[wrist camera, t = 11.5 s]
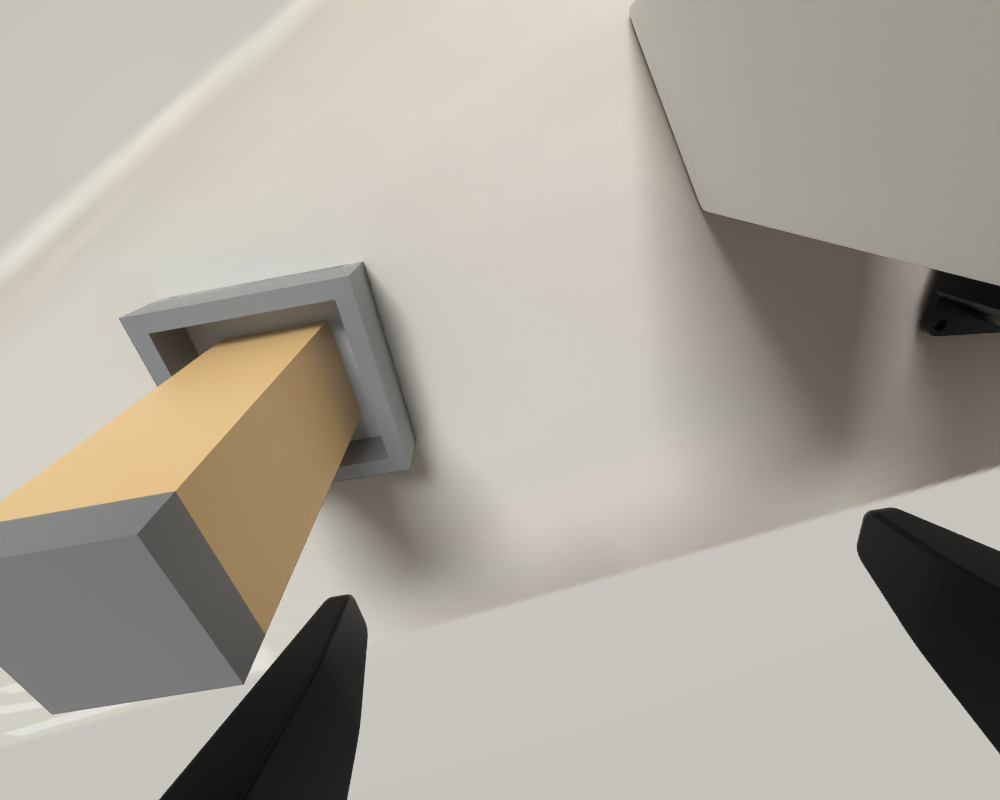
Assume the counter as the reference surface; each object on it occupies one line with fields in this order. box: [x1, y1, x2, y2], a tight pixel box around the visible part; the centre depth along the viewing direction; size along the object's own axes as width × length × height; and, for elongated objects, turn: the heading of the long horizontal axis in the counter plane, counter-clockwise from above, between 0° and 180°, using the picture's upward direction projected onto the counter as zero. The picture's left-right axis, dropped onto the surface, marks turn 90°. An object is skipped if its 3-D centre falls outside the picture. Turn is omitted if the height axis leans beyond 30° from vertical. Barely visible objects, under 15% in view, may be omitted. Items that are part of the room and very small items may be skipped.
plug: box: [0, 320, 362, 714], centre depth 15 cm, size 4×4×12 cm
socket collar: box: [119, 262, 416, 482], centre depth 19 cm, size 8×8×2 cm
